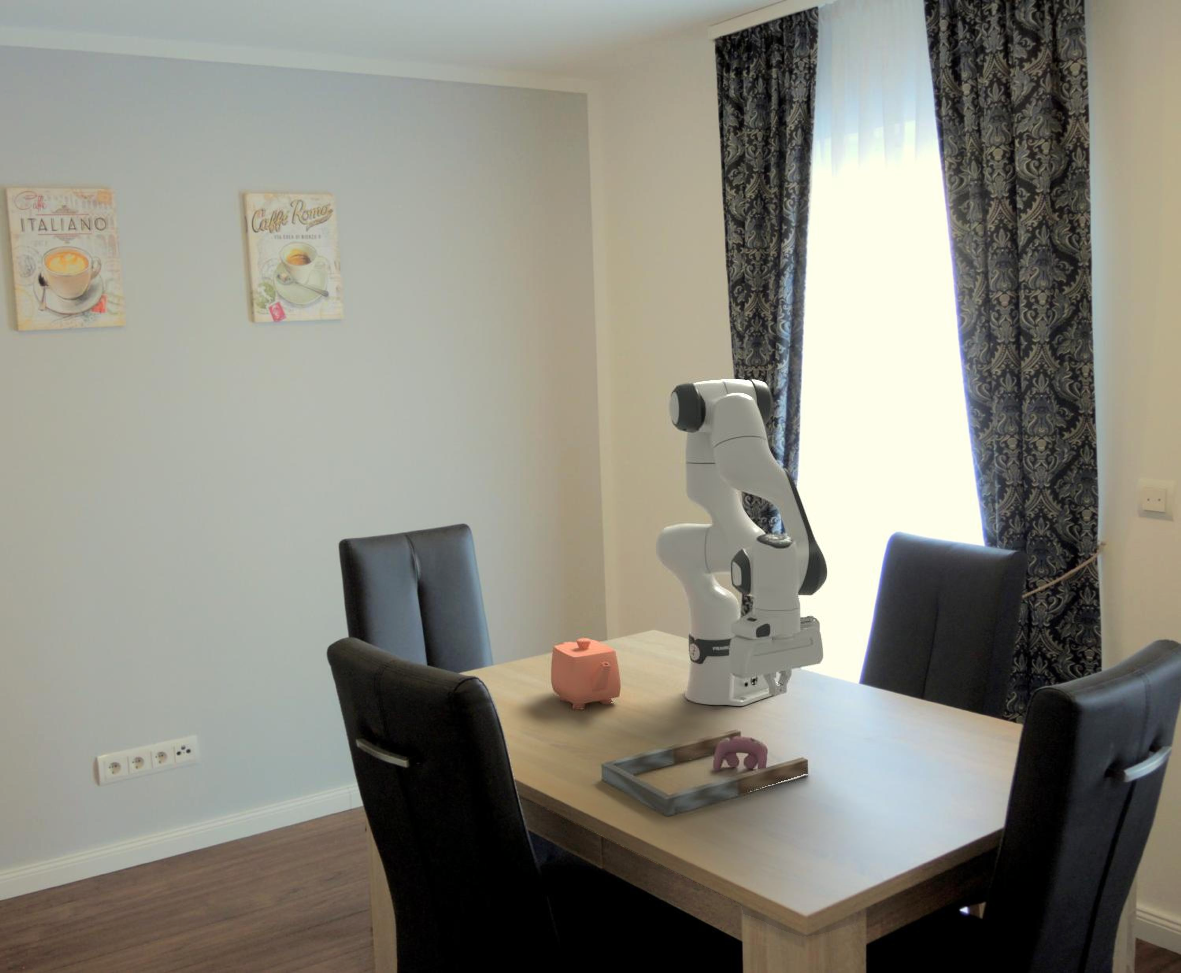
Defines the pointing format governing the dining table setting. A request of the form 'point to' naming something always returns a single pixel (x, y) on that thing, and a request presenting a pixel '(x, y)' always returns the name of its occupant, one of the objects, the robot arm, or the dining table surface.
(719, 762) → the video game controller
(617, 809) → the dining table surface
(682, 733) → the dining table surface
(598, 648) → the teapot
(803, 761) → the u-shaped rail frame
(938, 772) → the dining table surface
